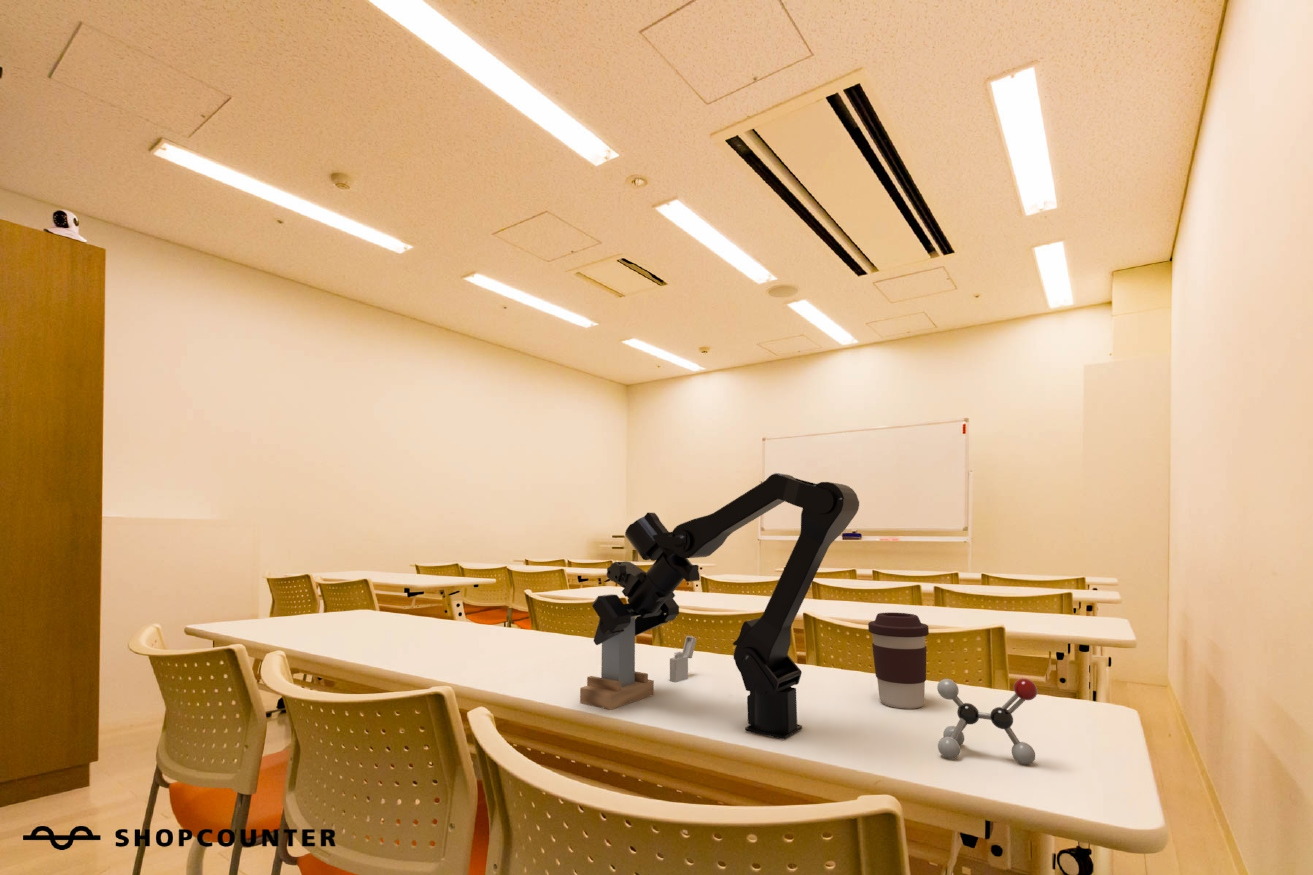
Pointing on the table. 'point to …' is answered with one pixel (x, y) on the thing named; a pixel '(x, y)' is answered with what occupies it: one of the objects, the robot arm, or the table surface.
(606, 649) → the grey square pillar
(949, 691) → the molecular model
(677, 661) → the lighter
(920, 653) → the coffee cup
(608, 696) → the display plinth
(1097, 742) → the table surface
